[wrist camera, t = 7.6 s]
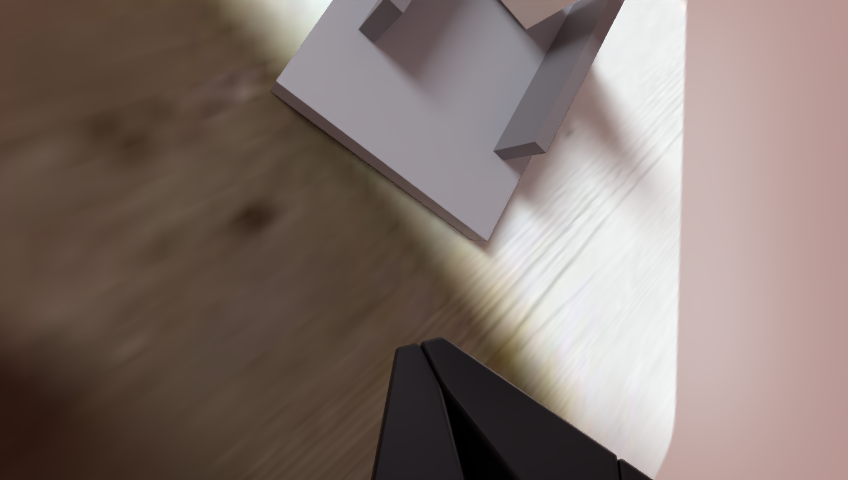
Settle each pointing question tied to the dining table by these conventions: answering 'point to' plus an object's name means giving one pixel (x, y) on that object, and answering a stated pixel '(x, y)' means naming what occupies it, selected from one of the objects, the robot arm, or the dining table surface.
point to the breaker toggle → (535, 9)
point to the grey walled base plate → (445, 93)
